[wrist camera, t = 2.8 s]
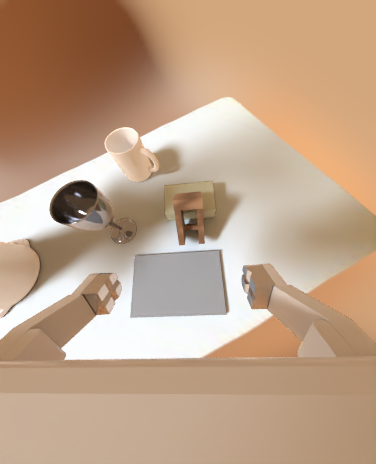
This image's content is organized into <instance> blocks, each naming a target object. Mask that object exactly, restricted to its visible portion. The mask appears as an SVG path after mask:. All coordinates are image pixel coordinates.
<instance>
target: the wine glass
mask: <svg viewBox="0 0 376 464" xmlns="http://www.w3.org/2000/svg"><path fill="white" fill-rule="evenodd" d="M50 214H51V217H52V218H53V219H54V220H55V221H56V222H59V223H61V224H63V225H66V226H69V227H72V228H75V229H80V230H85V231H98V230H101V229H104V228H105V227H107V226H108V225H109V226H112V228H111V238H112V239H113V241H115V242H116V243H119V244H123V243H127V242H129V241H130V240H132V239H133V237H134V236H135V234H136V231H137V227H136V224H135V222H134V221H133V220H132V219H129V218H123V219H120V220H118V221H116V222H114V221H113V217H114V209H113V206H112V204H111V203H110V201H109V200H108V198H107V197H106V196H105V195H104V194H103V193H102V192H101V191H100V190H99V189H98V188H97V187H95V186H94V185H93V184H92V183H90V182H88V181H84V180H78V181H73V182H70V183H68V184H66V185H64V186H63V187H62V188H60V189H59V190H58V191H57V192H56V194H55V195H54V197H53V198H52V201H51V203H50Z"/></svg>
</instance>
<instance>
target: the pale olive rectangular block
mask: <svg viewBox="0 0 376 464" xmlns="http://www.w3.org/2000/svg"><path fill="white" fill-rule="evenodd" d="M200 191H201V194H202V197H203V218H210V217H215V213H216V205H215V197H214V189H213V181H205V182H195V183H185V184H175V185H165V210H164V214H165V216H166V218H167V219H168V221H172V220H176V219H175V212H174V208H173V201H172V200H173V198H174V196H175V194H178V193H189V192H200ZM183 214H184V220H185V219H197V209H193V210H183Z"/></svg>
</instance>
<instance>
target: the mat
mask: <svg viewBox="0 0 376 464" xmlns="http://www.w3.org/2000/svg"><path fill="white" fill-rule="evenodd" d="M196 315H227V314H226V306H225V297H224V289H223V281H222V272H221V264H220V256H219V250H218V251H202V252H186V253H170V254H154V255H138V256H135V261H134V275H133V289H132V303H131V316H130V318H131V317H163V316H196Z"/></svg>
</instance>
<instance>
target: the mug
mask: <svg viewBox="0 0 376 464" xmlns="http://www.w3.org/2000/svg"><path fill="white" fill-rule="evenodd" d="M105 148H106V150H107V151H108V152H109V154H110V155H111V156H112V158H113V159H114V160H115V162H116V163H117V164H118V166H119V167H120V168H121V170H122V171H123V173H124V174H125V175H126V176H127V178H128V179H129V180H131V181H133V182H142V181H144V180H146V179H147V178H149V176H150V175H151V173H152V172H156V171H157V170H158V169H159V162H158V159H157V158H156V156H155V155H154V154H153V153H152V152H151V151H149V150H148V149H146V148H144V146H143V144H142V142H141V139H140V137H139V135H138V133H137V132H136V131H135V130H134V129H132V128H128V127H125V128H120V129H117V130H115V131H113V132H111V133H110V134H109V135H108V137H107V138H106V140H105ZM148 157H149V158H150V159H151V160H152V161H153V163H154V167H152V165H151V162H150V160H149V158H148Z"/></svg>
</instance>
